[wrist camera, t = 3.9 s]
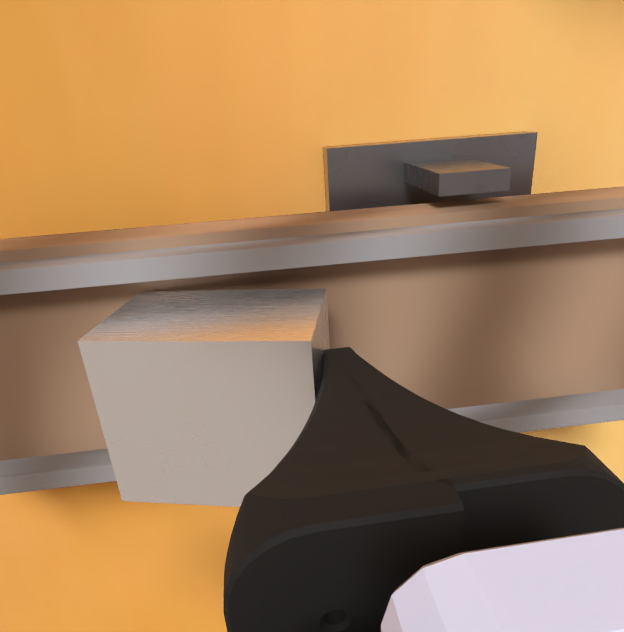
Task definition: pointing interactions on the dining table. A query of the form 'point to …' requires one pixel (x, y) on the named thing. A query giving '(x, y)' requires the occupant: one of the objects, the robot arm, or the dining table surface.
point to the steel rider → (205, 388)
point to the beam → (338, 310)
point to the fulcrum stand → (428, 170)
